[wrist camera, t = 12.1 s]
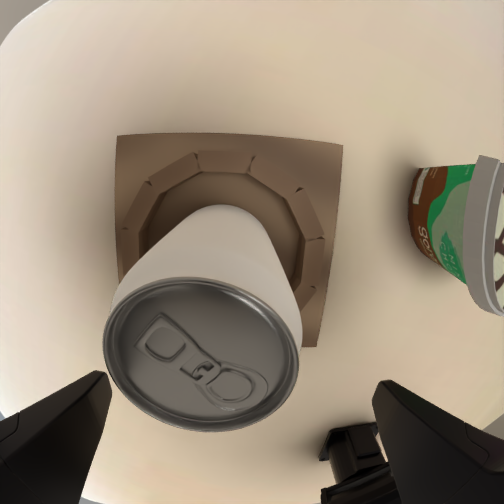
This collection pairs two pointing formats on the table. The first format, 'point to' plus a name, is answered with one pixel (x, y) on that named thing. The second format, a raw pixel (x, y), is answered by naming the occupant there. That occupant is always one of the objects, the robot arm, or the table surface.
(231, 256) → the can
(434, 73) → the table surface
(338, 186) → the brown ring stand base
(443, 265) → the food container
